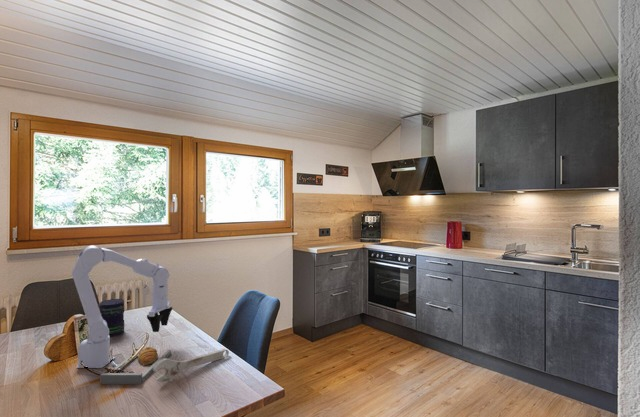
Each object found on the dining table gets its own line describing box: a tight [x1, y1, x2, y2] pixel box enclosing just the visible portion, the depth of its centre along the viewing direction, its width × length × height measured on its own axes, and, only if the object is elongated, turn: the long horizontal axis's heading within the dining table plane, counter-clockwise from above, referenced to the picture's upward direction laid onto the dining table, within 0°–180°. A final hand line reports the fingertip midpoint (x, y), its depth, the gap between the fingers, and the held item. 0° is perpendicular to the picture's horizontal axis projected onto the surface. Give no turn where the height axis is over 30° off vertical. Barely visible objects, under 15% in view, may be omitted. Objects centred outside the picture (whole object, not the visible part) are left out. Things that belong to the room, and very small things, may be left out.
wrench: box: [153, 348, 230, 383], centre depth 120 cm, size 8×2×30 cm
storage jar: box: [99, 298, 125, 339], centre depth 154 cm, size 10×10×15 cm
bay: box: [99, 349, 172, 385], centre depth 122 cm, size 13×23×3 cm, turn 0°
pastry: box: [137, 346, 159, 366], centre depth 128 cm, size 9×7×4 cm
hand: (160, 328), depth 138 cm, fingers open, 7 cm apart
